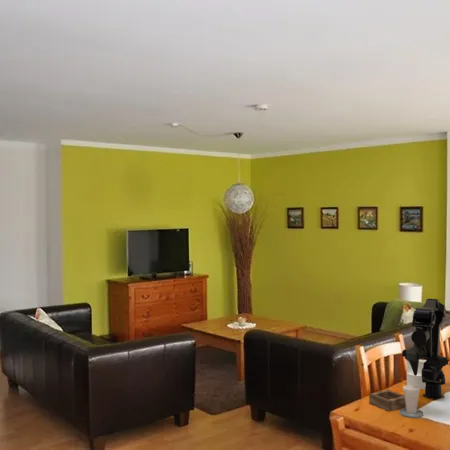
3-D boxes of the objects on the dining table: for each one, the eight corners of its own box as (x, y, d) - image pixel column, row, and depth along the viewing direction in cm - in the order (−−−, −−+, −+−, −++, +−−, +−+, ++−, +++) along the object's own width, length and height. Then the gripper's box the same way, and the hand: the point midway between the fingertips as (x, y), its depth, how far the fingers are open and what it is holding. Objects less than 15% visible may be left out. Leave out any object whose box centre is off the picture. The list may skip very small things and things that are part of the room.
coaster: (410, 408, 220) (410, 406, 220) (428, 415, 212) (428, 413, 212) (394, 412, 216) (394, 410, 216) (412, 419, 208) (412, 417, 208)
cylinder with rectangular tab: (405, 387, 247) (405, 361, 247) (408, 382, 255) (408, 356, 255) (426, 390, 243) (425, 363, 242) (428, 384, 251) (428, 358, 250)
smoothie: (418, 415, 210) (417, 380, 209) (401, 412, 213) (400, 377, 213) (421, 410, 215) (421, 375, 215) (405, 407, 218) (405, 373, 218)
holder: (388, 398, 232) (387, 389, 232) (408, 406, 222) (408, 396, 222) (369, 403, 226) (369, 394, 226) (389, 411, 217) (389, 401, 217)
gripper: (392, 337, 222) (392, 375, 222) (429, 347, 205) (430, 387, 206) (411, 334, 227) (411, 371, 227) (449, 343, 211) (449, 382, 211)
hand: (424, 378), depth 218 cm, fingers open, 9 cm apart
